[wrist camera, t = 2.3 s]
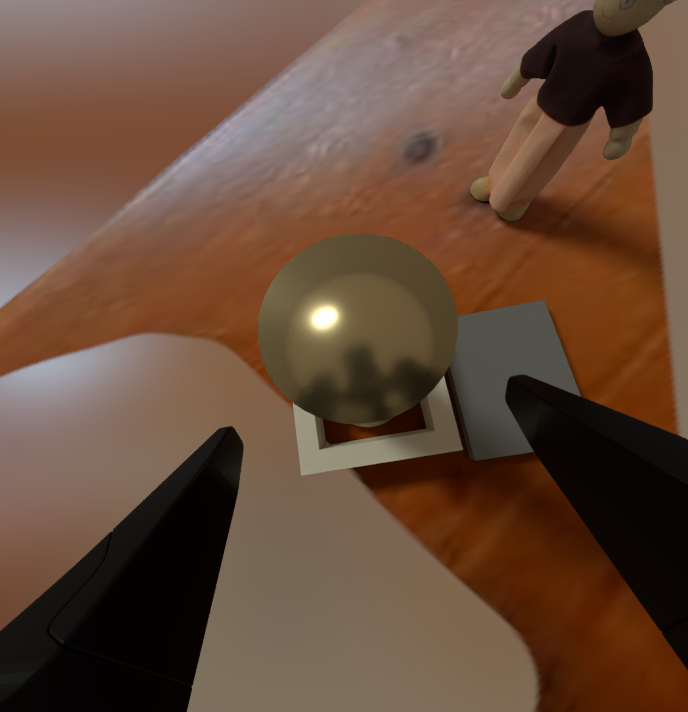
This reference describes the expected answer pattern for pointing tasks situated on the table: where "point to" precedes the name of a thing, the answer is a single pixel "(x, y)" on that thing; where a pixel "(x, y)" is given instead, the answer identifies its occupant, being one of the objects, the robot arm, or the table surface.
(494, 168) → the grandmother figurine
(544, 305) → the slate pad
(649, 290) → the table surface
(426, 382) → the light bulb
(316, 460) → the socket
